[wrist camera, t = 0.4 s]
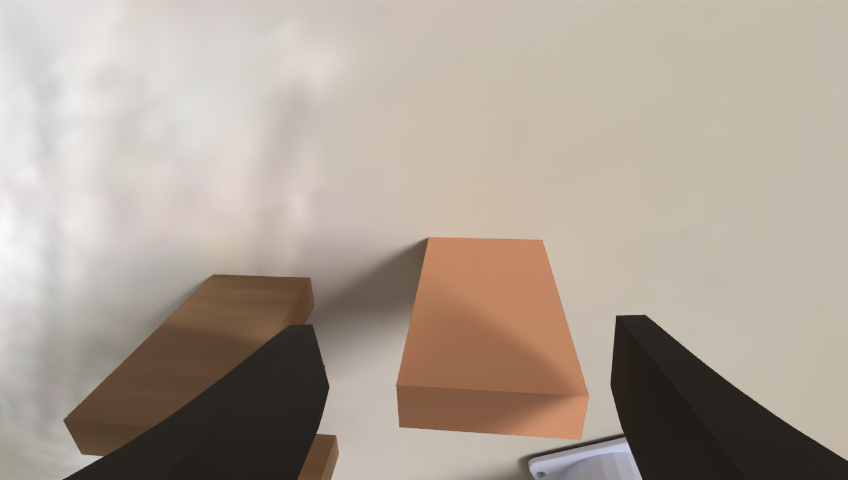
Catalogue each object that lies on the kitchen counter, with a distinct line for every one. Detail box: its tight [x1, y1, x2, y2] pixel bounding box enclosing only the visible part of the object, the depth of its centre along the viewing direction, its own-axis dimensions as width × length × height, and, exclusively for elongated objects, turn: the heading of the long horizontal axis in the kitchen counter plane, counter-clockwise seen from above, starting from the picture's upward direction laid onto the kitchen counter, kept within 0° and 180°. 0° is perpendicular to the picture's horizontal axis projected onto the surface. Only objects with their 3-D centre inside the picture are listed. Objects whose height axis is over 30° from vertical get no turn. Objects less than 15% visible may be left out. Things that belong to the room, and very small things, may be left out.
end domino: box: [396, 238, 589, 440], centre depth 16 cm, size 2×5×9 cm, turn 92°
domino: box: [63, 275, 314, 456], centre depth 18 cm, size 2×5×9 cm, turn 91°
